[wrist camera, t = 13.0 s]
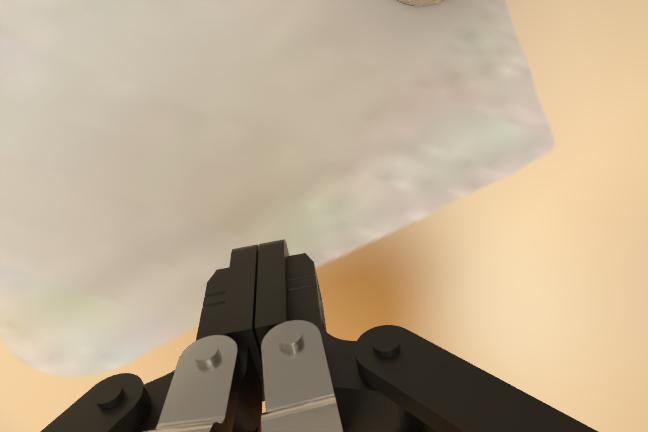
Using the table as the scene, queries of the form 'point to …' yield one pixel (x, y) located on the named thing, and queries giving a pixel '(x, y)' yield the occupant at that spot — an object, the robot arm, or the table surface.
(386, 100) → the table surface
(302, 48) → the table surface
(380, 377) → the robot arm
